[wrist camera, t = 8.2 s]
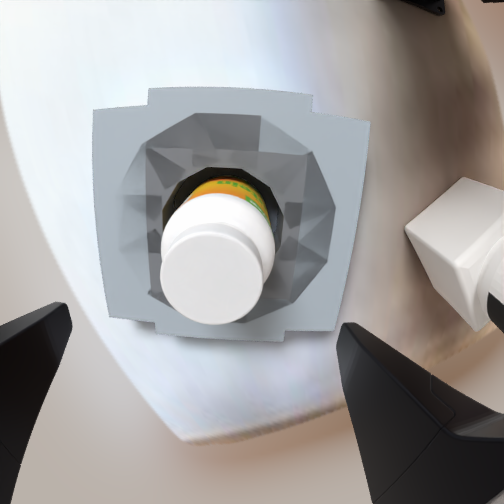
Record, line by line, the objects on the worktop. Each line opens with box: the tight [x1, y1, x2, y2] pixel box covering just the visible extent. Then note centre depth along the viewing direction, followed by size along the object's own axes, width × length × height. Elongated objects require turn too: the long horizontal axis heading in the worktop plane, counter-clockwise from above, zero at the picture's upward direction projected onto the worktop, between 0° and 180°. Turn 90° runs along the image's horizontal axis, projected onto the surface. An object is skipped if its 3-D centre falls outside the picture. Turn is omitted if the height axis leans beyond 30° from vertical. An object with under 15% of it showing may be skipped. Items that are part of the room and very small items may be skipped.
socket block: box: [92, 87, 370, 342], centre depth 19 cm, size 16×16×3 cm
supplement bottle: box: [160, 175, 275, 325], centre depth 16 cm, size 5×5×10 cm
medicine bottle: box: [404, 177, 504, 333], centre depth 16 cm, size 7×7×12 cm
